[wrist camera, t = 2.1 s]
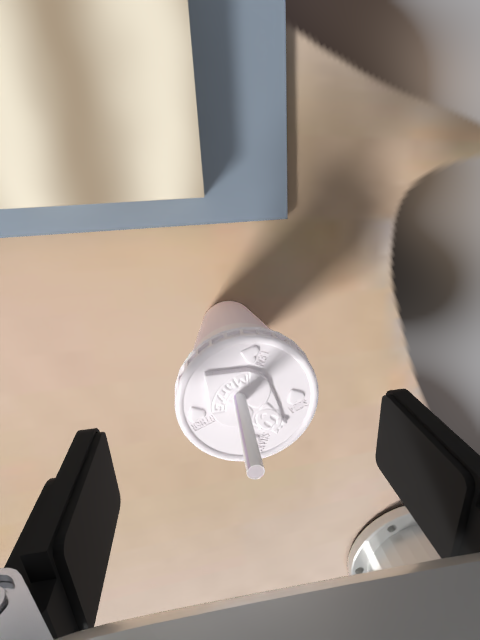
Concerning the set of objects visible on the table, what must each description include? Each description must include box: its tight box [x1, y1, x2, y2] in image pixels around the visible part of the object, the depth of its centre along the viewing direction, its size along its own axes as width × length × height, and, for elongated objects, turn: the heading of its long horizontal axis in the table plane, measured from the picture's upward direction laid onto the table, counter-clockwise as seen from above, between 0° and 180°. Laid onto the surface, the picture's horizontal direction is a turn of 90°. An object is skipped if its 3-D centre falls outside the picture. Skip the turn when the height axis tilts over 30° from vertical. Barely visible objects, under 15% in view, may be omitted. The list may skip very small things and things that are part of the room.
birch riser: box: [0, 0, 204, 209], centre depth 16 cm, size 10×10×3 cm
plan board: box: [0, 0, 288, 238], centre depth 18 cm, size 20×13×1 cm, turn 93°
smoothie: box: [175, 301, 318, 479], centre depth 17 cm, size 6×6×14 cm
